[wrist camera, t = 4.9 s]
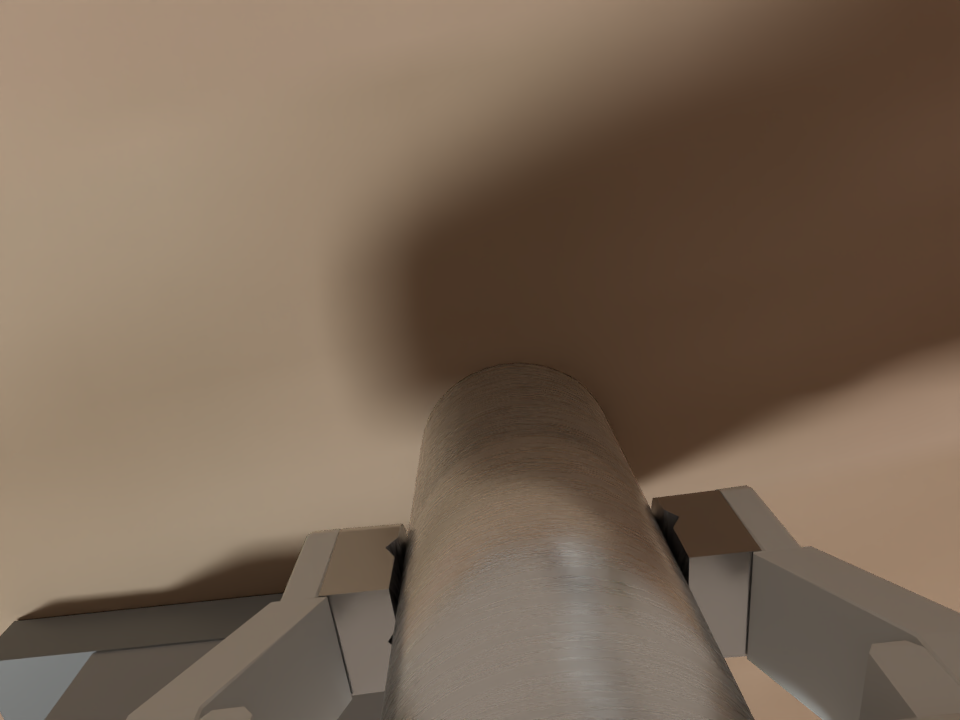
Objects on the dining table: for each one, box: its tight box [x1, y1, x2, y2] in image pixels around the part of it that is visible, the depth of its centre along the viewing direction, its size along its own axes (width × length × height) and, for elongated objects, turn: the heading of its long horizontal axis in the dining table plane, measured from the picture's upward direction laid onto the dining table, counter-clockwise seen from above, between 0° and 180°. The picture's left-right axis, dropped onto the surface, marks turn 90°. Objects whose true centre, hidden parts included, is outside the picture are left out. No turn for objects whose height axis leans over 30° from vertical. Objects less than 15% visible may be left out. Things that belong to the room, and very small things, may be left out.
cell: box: [380, 363, 754, 720], centre depth 9 cm, size 4×4×9 cm
